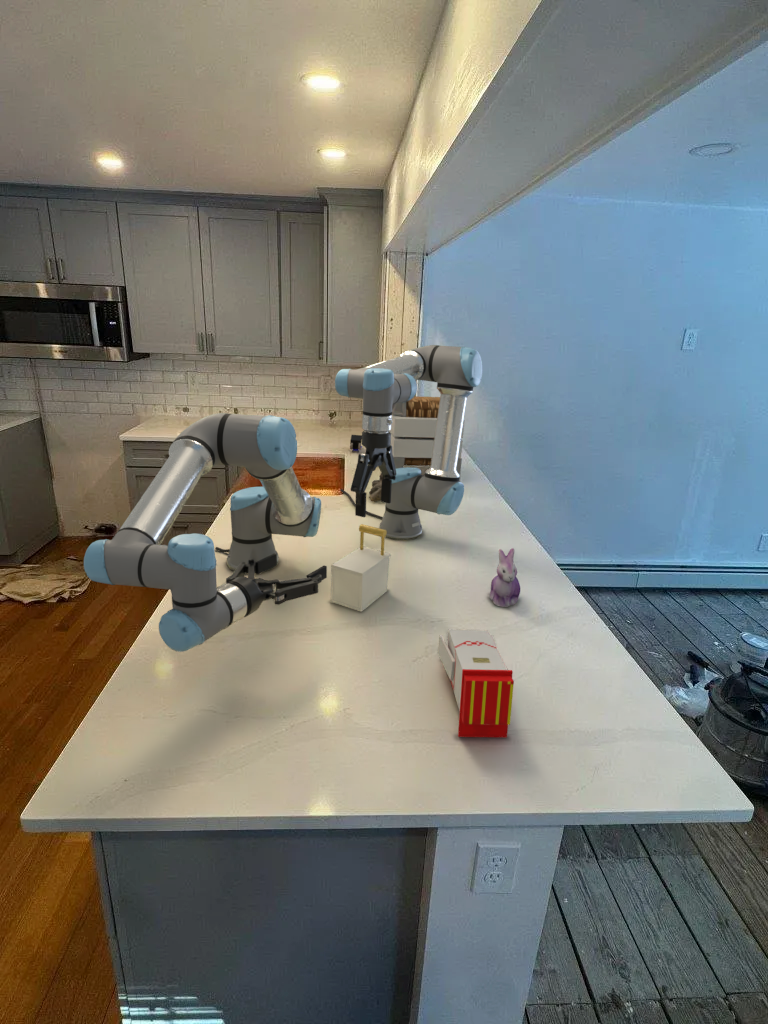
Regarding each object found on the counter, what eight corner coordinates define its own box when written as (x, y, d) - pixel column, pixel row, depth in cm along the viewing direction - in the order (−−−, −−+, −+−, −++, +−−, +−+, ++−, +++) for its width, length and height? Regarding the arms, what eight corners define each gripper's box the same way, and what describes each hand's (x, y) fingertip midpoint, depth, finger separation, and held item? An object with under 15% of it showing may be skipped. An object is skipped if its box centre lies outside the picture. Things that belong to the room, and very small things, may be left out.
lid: (361, 548, 161) (362, 521, 158) (390, 556, 157) (392, 528, 154) (331, 567, 148) (331, 538, 146) (362, 576, 144) (363, 546, 141)
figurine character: (361, 456, 307) (362, 446, 320) (362, 442, 303) (362, 433, 317) (349, 455, 306) (350, 446, 320) (349, 442, 303) (350, 433, 316)
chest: (358, 581, 164) (359, 549, 160) (387, 590, 160) (389, 557, 156) (330, 602, 152) (331, 567, 148) (361, 611, 148) (362, 576, 144)
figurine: (502, 611, 151) (509, 560, 146) (479, 594, 159) (485, 545, 154) (530, 604, 155) (537, 554, 150) (506, 588, 163) (512, 540, 158)
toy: (488, 613, 130) (523, 677, 101) (484, 667, 133) (517, 744, 104) (435, 612, 130) (455, 676, 101) (432, 666, 133) (451, 743, 103)
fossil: (368, 477, 249) (395, 458, 244) (381, 493, 252) (408, 475, 247) (361, 498, 229) (391, 478, 224) (375, 515, 232) (405, 496, 227)
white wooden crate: (382, 463, 289) (386, 382, 275) (445, 464, 293) (451, 384, 279) (390, 482, 257) (394, 392, 243) (460, 483, 261) (468, 394, 247)
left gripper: (188, 603, 115) (256, 569, 133) (287, 635, 104) (347, 593, 122) (185, 569, 113) (255, 539, 131) (286, 597, 102) (347, 560, 120)
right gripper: (364, 441, 133) (361, 525, 140) (411, 425, 154) (406, 499, 161) (337, 437, 137) (336, 519, 144) (387, 421, 157) (383, 494, 165)
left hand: (300, 565), depth 127 cm, fingers open, 13 cm apart
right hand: (373, 509), depth 153 cm, fingers open, 13 cm apart
